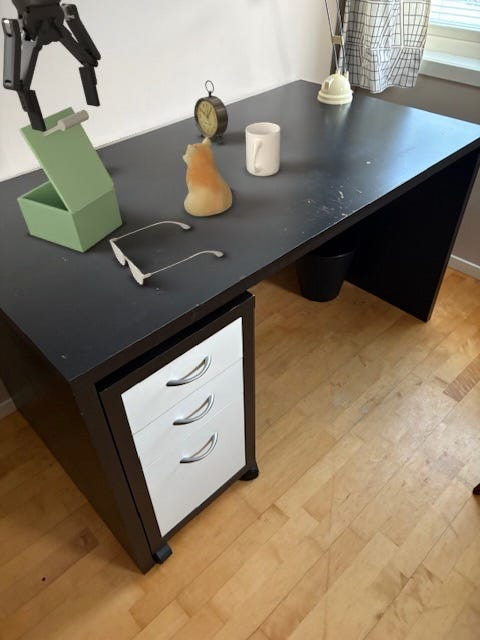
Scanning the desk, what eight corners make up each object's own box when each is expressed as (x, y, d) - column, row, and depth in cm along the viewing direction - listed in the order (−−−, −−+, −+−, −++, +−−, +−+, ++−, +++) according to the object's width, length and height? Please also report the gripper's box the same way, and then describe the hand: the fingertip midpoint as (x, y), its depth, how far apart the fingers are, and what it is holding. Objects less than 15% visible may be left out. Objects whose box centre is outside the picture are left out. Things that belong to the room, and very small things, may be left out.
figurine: (178, 197, 115) (170, 135, 105) (228, 188, 117) (225, 127, 107) (190, 222, 106) (182, 157, 96) (243, 212, 109) (241, 147, 99)
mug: (237, 180, 120) (236, 138, 113) (252, 161, 129) (251, 120, 122) (270, 184, 118) (270, 142, 111) (283, 164, 126) (284, 123, 119)
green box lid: (18, 129, 85) (41, 116, 80) (69, 107, 93) (93, 94, 88) (69, 213, 93) (94, 205, 88) (112, 186, 101) (137, 177, 96)
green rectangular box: (30, 234, 105) (16, 198, 99) (71, 209, 113) (60, 173, 107) (83, 252, 99) (71, 214, 93) (122, 224, 107) (114, 187, 101)
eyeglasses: (111, 254, 98) (107, 238, 95) (187, 226, 105) (185, 209, 102) (145, 292, 88) (141, 274, 85) (226, 257, 95) (225, 240, 93)
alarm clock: (195, 137, 143) (189, 78, 132) (209, 132, 146) (204, 74, 135) (218, 146, 137) (214, 86, 126) (232, 141, 139) (229, 82, 129)
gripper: (-23, -13, 63) (29, 145, 77) (104, -37, 78) (128, 98, 93) (-59, -16, 65) (-2, 137, 80) (70, -38, 81) (98, 93, 96)
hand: (68, 117), depth 86 cm, fingers open, 13 cm apart
